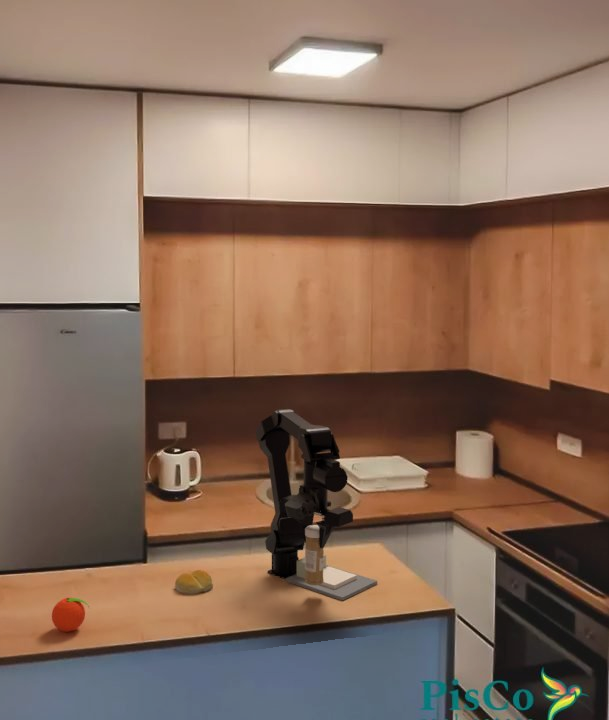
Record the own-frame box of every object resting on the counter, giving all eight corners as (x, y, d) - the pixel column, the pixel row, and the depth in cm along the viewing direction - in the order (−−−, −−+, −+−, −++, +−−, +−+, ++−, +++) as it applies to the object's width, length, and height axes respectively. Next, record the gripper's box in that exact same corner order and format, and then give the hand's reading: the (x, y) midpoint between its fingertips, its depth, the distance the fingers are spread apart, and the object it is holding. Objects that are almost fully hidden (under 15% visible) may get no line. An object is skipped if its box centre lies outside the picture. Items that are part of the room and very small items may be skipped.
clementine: (92, 621, 178) (91, 590, 177) (89, 635, 171) (88, 603, 170) (54, 624, 176) (53, 592, 176) (49, 638, 169) (48, 605, 169)
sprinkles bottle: (327, 583, 191) (328, 528, 189) (311, 587, 188) (311, 531, 187) (316, 577, 195) (317, 523, 193) (300, 580, 192) (301, 526, 191)
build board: (285, 581, 202) (285, 562, 201) (321, 566, 212) (321, 548, 212) (342, 600, 190) (342, 581, 189) (377, 583, 200) (377, 565, 200)
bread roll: (170, 586, 198) (170, 571, 198) (204, 579, 203) (203, 564, 202) (183, 598, 191) (182, 582, 191) (217, 590, 196) (217, 575, 195)
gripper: (263, 479, 189) (262, 544, 191) (323, 496, 177) (322, 564, 178) (295, 471, 197) (294, 533, 199) (355, 486, 185) (353, 551, 187)
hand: (314, 545), depth 191 cm, fingers closed on sprinkles bottle, 4 cm apart
